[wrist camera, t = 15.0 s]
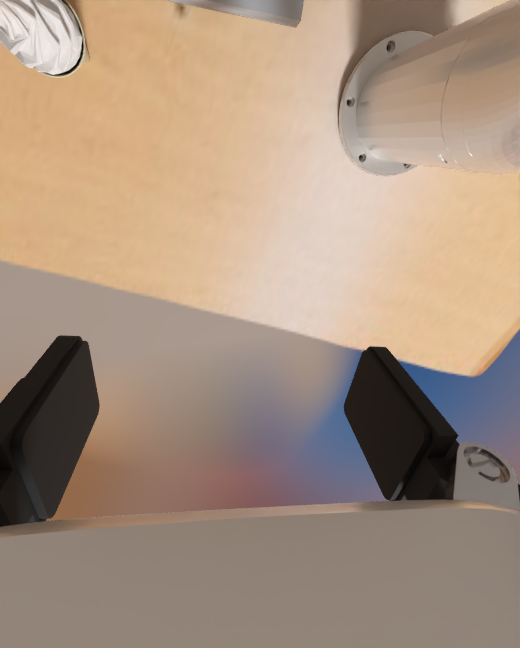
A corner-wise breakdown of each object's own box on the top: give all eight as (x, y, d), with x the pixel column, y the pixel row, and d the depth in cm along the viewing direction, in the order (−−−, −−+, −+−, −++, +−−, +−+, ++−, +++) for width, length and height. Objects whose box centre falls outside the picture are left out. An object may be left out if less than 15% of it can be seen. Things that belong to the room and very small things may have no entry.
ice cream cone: (50, 15, 27) (-101, -97, 14) (112, 26, 28) (23, -71, 15) (62, 87, 29) (-57, 47, 17) (119, 95, 30) (47, 63, 17)
